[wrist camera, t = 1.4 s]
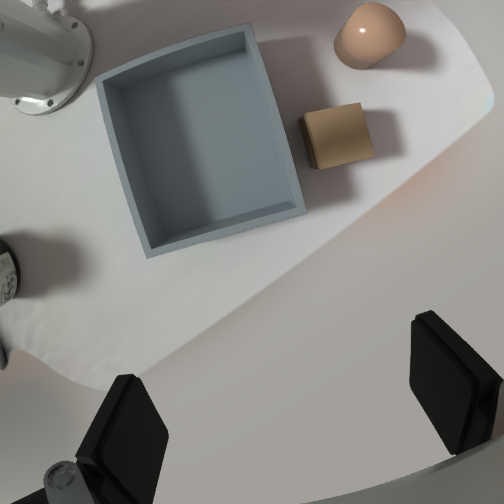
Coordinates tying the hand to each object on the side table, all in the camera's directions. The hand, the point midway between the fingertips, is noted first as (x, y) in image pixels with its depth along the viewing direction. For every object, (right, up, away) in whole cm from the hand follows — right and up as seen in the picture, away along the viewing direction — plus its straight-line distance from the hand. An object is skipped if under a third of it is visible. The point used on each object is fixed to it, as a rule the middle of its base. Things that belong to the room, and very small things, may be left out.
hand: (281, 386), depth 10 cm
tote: (-6, +15, +21) cm, 26 cm away
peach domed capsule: (+10, +26, +18) cm, 33 cm away
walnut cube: (+7, +16, +21) cm, 27 cm away
